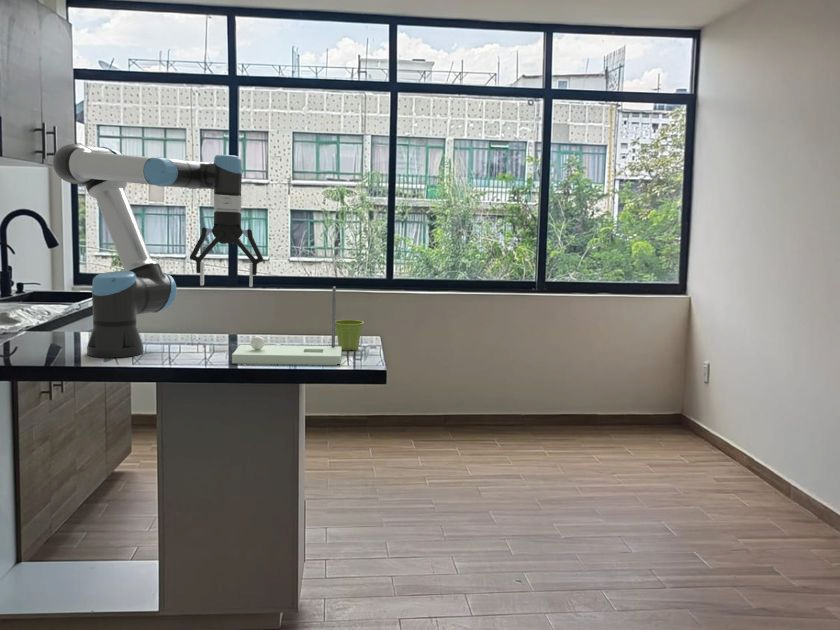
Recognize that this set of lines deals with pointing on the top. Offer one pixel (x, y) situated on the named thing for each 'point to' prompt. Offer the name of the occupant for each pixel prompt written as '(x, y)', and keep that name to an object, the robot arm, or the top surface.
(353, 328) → the plant pot
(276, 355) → the green
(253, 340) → the ball
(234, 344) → the top surface
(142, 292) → the robot arm
